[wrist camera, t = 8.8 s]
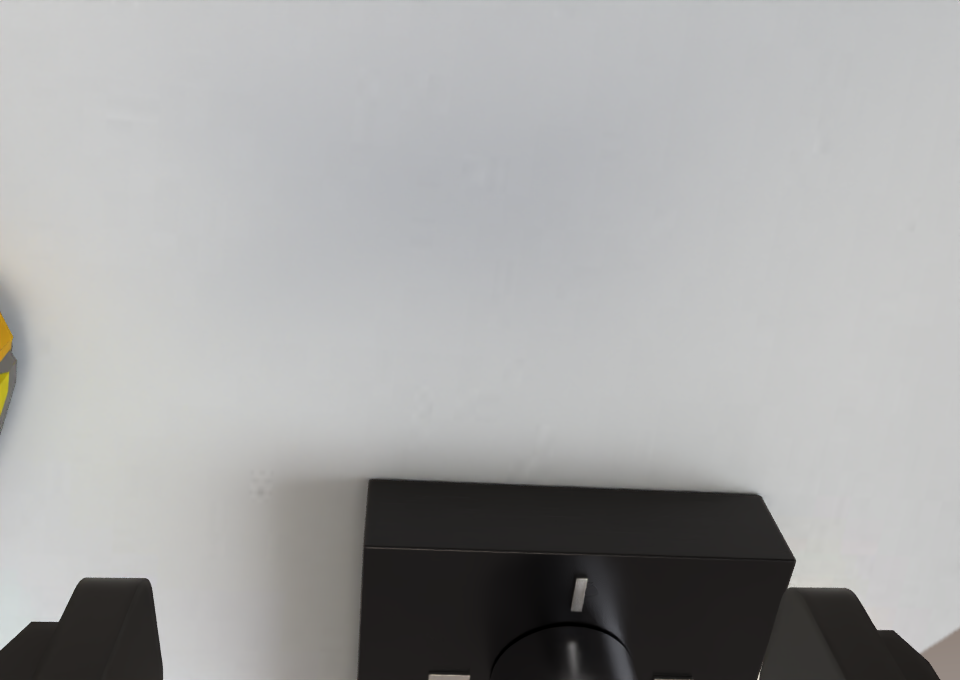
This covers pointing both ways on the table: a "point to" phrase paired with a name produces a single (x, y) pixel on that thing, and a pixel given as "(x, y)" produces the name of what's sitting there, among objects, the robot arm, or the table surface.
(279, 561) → the table surface
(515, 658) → the hob knob
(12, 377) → the gaming controller
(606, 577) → the dial base
